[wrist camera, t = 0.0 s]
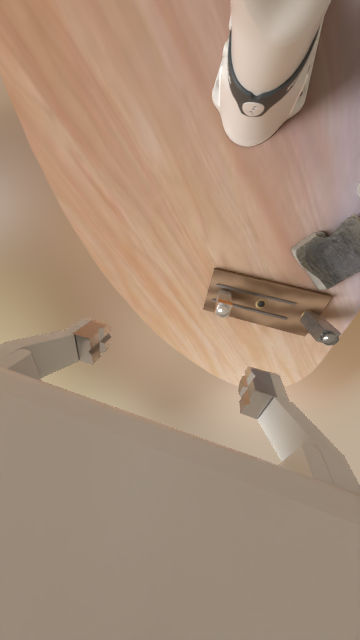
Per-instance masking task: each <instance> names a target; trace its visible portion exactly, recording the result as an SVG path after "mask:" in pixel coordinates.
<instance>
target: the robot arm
mask: <svg viewBox="0 0 360 640" xmlns="http://www.w3.org/2000/svg"><path fill="white" fill-rule="evenodd" d="M230 1H231V17H230V23H229V29H230V36H229V39H228V42H225V45H224V49H223V59H222V62H221V65H220V68H219V72H218V75H217V78H216V81H215V85H214V88H213V92H212V101H213V103H214V105H215V106H216V108H217V109H218V110H219V112H220V115H221V118H222V123H223V127H224V129H225V132H226V133H227V135H228V137H229V138H230V139H231V140H232V141H233V142H235V143H236V144H238V145H241V146H254V145H258V144H260V143H262V142H264V141H265V140H267V139H268V138H269V137H271V136H272V135H273V134H274V133H275V132H276V131H277V130H278V128H279V127H280V126H281V125H282V124H283V123H284V122H285V121H286V120H287V119H289V118H291V117H292V116H294V115H295V114H297V113H298V112H299V111H300V110H301V109H302V107H303V105H304V103H305V99H306V95H307V90H308V86H309V82H310V77H311V73H312V68H313V64H314V60H315V55H316V51H317V46H318V42H319V37H320V33H321V29H322V24H323V20H324V15H325V13H326V11H327V9H328V7H329V5H330V3H331V0H230ZM300 94H301V96H300ZM299 96H300V97H299ZM110 331H111V326H110V325H108V324H105V323H102V322H98V321H95V320H92V319H89V318H83V319H82V320H80V321H79V322H77V323H75V324H74V325H72V326H71V327H69V328H67V329H66V330H64V331H61V330H60V331H55V332H51V333H46V334H42V335H36V336H31V337H27V338H22V339H17V340H13V341H8V342H5V343H3V344H1V345H0V640H360V485H359V483H358V481H357V479H356V477H355V476H354V474H353V472H352V470H351V468H350V466H349V464H348V462H347V460H346V459H345V457H344V455H343V454H342V453H341V452H340V451H339V450H338V449H337V448H336V447H335V446H334V445H333V444H332V443H331V442H330V441H329V440H328V439H327V438H326V437H325V436H324V435H323V433H321V431H320V430H319V429H318V428H317V427H316V426H315V425H314V424H313V423H312V422H311V421H310V420H309V419H308V418H307V417H306V416H305V415H304V414H303V413H302V412H301V411H300V410H299V409H298V408H297V407H296V406H295V405H294V404H293V403H292V402H289V399H288V397H287V394H286V391H285V389H284V386H283V383H282V381H281V378H280V376H279V375H278V374H275V373H271V372H266V371H263V370H260V369H256V368H253V367H248V368H247V369H246V371H245V374H246V375H245V376H243V377H242V378H241V380H240V383H239V395H240V396H241V400H240V401H239V402H240V413H242V414H244V415H247V416H250V417H253V418H255V419H258V422H259V424H260V426H261V427H262V429H263V431H264V432H265V434H266V436H267V438H268V439H269V441H270V443H271V444H272V446H273V448H274V449H275V451H276V453H277V455H278V456H279V458H280V459H281V461H282V462H281V463H280V464H279V465H276V464H273V463H270V462H267V461H265V460H262V459H259V458H256V457H253V456H251V455H248V454H245V453H242V452H240V451H237V450H234V449H231V448H228V447H226V446H223V445H220V444H217V443H214V442H211V441H209V440H205V439H203V438H200V437H197V436H194V435H192V434H189V433H186V432H183V431H181V430H177V429H175V428H172V427H169V426H166V425H164V424H161V423H158V422H155V421H152V420H149V419H147V418H144V417H141V416H138V415H135V414H133V413H130V412H127V411H124V410H121V409H119V408H116V407H113V406H110V405H108V404H105V403H102V402H99V401H96V400H94V399H91V398H88V397H85V396H82V395H80V394H77V393H74V392H71V391H68V390H66V389H63V388H60V387H57V386H54V385H52V384H49V383H46V382H43V381H42V380H41V378H42V377H44V376H47V375H49V374H51V373H53V372H56V371H58V370H60V369H62V368H65V367H67V366H69V365H71V364H73V363H76V362H78V361H79V360H80V361H83V362H86V363H90V364H94V363H95V362H96V360H98V359H99V358H100V354H101V353H103V352H105V351H106V350H107V349H108V348H109V346H110V344H111V336H110V334H109V333H110Z"/></svg>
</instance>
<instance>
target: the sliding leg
mask: <svg viewBox="0 0 360 640" xmlns="http://www.w3.org/2000/svg"><path fill="white" fill-rule="evenodd" d="M232 306H233V303H232V298H231V292H230V291H226V290H222V289H219V292H218V295H217V299H216V305H215V310H214V314H216V315H219V316H220V317H227V318H228V316H229V314H230V311H231V308H232Z"/></svg>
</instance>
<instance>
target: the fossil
mask: <svg viewBox="0 0 360 640" xmlns="http://www.w3.org/2000/svg"><path fill="white" fill-rule="evenodd" d="M291 250H292V253H293V255H294V257H295V258H296V260H297V261H298V263H299V264H300V266H301V267H302V268H303V269H304V270H306V272H307V273H308V275H309V276H310V277H311V279H312V281H313V283H314V284H315V286H316V287H317V288H318V289H319V290H326V289H329V288H331V287H332V286H334V285H336V284H337V283H339V282H340V281H342V280H343V279H345V278H347V277H349V276H351V275H353V274H354V273H357V272H359V271H360V218H359V217H358V216H357V215H355V214H353V215H352V216H351V217H349V218H347V219H346V220H345V221H344V222H343V223H342V224H341V225H340V227H339V228H338V229H337V230H336V231H335V232H334V233H333V234H332V235H330V236H326V234H325V233H324V232H316V233H314V234H312V235H311V236H309V237H308V238H305V239H303V240H302V241H301V242H300V243H298V244H297V245H296V246H294V247H293V248H292V249H291Z"/></svg>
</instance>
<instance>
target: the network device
mask: <svg viewBox="0 0 360 640" xmlns="http://www.w3.org/2000/svg"><path fill="white" fill-rule="evenodd" d="M357 194H358V196H359V198H360V183H359V185H358V188H357Z"/></svg>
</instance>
